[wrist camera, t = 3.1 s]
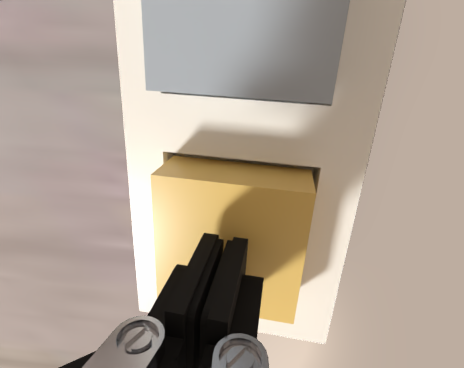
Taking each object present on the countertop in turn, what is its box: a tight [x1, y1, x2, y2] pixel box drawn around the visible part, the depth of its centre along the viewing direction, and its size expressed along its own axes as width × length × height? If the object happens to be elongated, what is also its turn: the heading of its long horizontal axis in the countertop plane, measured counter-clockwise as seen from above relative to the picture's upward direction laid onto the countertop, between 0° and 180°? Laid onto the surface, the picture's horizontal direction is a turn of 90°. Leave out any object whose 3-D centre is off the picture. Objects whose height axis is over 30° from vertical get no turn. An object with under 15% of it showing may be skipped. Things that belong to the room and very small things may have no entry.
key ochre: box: [151, 156, 316, 324], centre depth 13 cm, size 6×6×2 cm
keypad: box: [113, 0, 406, 344], centre depth 12 cm, size 30×10×3 cm, turn 177°
